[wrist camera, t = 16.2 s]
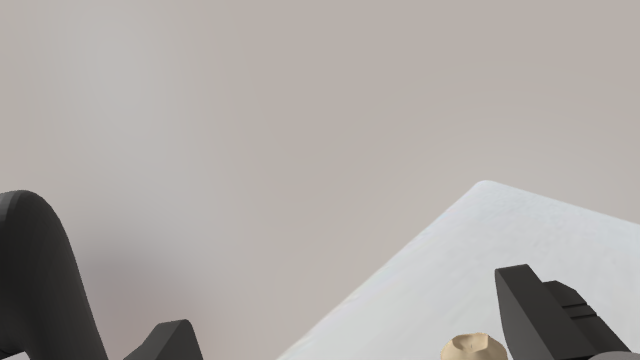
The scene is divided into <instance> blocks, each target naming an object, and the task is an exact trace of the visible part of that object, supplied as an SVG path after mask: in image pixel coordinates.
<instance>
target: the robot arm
mask: <svg viewBox="0 0 640 360" xmlns="http://www.w3.org/2000/svg"><path fill="white" fill-rule="evenodd" d="M495 282H496V289H497V295H498V302H499V309H500V315H501V322H502V328H503V332H504V336H505V340H506V343H507V346H508V349H509V351H510V353H511V355H512V357H513V359H514V360H640V354H638V353H632V352H631V351H630V350H629V349H628V347H627V346H626V345H625V344H624V343H623V342H622V341H621V340H620V339H619V338H618V336H617V335H616V334H615V333H614V332H613V331H612V330H611V329H610V328H609V327H608V326H607V324H606V323H605V322H604V321H603V320H602V319H601V318H600V317H599V316H597V313H596V312H595V311H594V310H593V309H592V308H591V307H590V306H589V305H587V302H586V301H585V300H584V299H583V298H582V297H581V296H580V295H579V294H578V293H577V291H576V290H574V289H572V288H570V287H568V286H566V285H564V284H562V283H560V282H558V281H556V280H555V281H549V282H543V283H542V282H541V280H540V279H539V278H538V277H537V275H536V274H535V273H534V272H533V270H532V269H531V268H530V267H529V265H527V264H523V265H517V266H511V267H505V268H499V269H495ZM24 351H25V352H26V353H27V355H28V356H29V358H30V360H108V357H107V355H106V352H105V349H104V346H103V343H102V341H101V338H100V335H99V332H98V330H97V327H96V324H95V321H94V318H93V315H92V312H91V309H90V306H89V303H88V300H87V296H86V293H85V290H84V286H83V283H82V280H81V276H80V273H79V270H78V266H77V263H76V260H75V257H74V254H73V251H72V248H71V245H70V242H69V239H68V237H67V235H66V232H65V230H64V228H63V226H62V224H61V221H60V219H59V218H58V217H57V215H56V213H55V212H54V210H53V209H52V207H51V206H50V205H49V204H48V203H47V202H46V201H45V200H44V199H43V198H42V197H40V196H39V195H37V194H36V193H33V192H30V191H26V190H17V191H10V192H6V193H1V194H0V360H2V359H5V358H7V357H10V356H13V355H15V354H18V353H21V352H24ZM123 360H203V357H202V354H201V351H200V348H199V345H198V342H197V339H196V336H195V333H194V330H193V327H192V325H191V323H190V322H189V321H188V320H186V319H184V320H178V321H171V322H165V323H160V324H158V325H157V326H156V327H155V328H154V329H153V331H152V332H151V333H150V335H149V336H148V337H147V338H146V340H145V341H144V342H143V344H142V345H141V346H139V347H138V348H137V349H135V350H134V351H133V352H132V353H130V354H129V355H128V356H127V357H126V358H124V359H123Z"/></svg>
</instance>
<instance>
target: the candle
mask: <svg viewBox="0 0 640 360" xmlns="http://www.w3.org/2000/svg"><path fill="white" fill-rule="evenodd" d="M441 360H508V357H507V352H506V349H505V348H504V346H503V345H502V344H500V343H499V342H498V341H496V340H494V339H493V338H491V337H490V336H489V335H487V334H485V333H475V334H464V335H458V336H456V337H454V338H453V339H452V340H450V341H449V342H448V343H447V344H446V345H445V346H444V348H443V349H442V351H441Z"/></svg>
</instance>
